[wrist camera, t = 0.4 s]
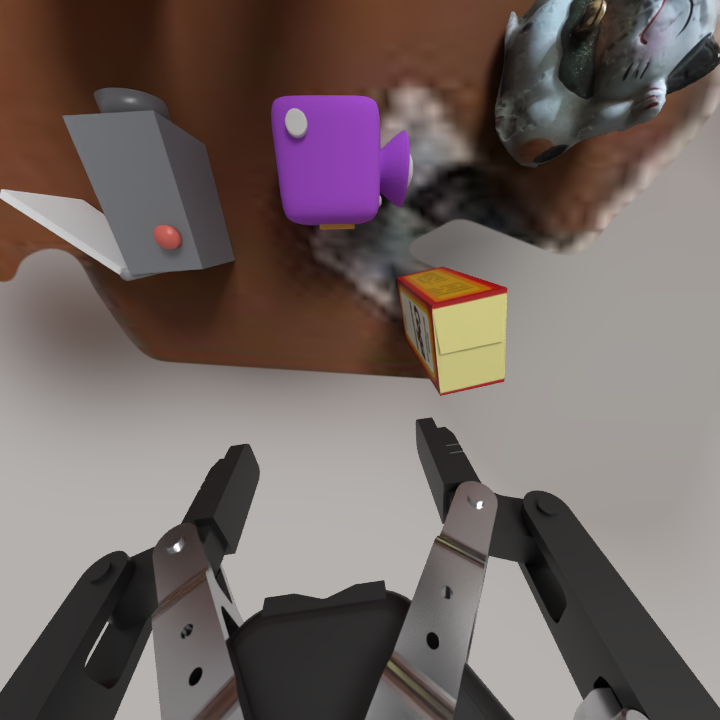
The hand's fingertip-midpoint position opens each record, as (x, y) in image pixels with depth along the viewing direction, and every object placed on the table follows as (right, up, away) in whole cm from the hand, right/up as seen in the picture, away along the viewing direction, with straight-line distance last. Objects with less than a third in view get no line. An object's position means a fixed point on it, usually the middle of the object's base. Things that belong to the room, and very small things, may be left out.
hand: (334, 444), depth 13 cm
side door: (-27, +19, +19) cm, 38 cm away
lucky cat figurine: (+22, +34, +16) cm, 44 cm away
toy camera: (-1, +26, +19) cm, 32 cm away
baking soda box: (+10, +12, +26) cm, 31 cm away
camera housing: (-19, +23, +18) cm, 35 cm away
